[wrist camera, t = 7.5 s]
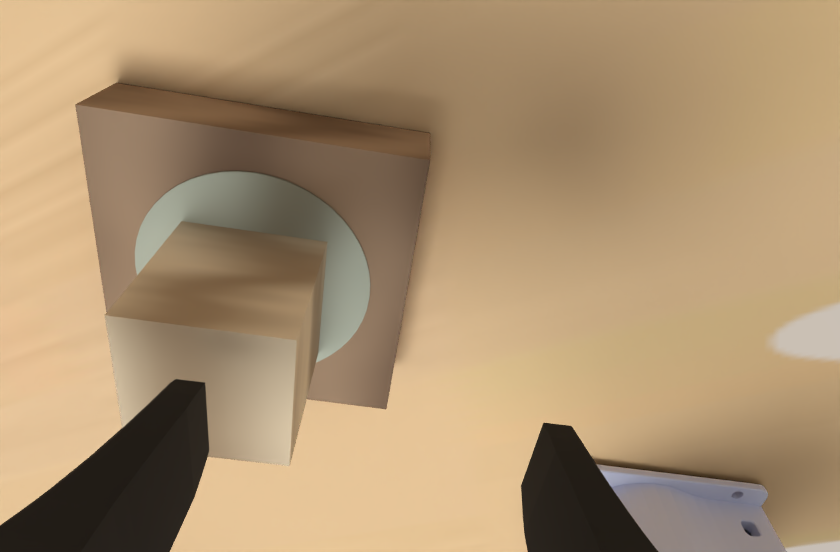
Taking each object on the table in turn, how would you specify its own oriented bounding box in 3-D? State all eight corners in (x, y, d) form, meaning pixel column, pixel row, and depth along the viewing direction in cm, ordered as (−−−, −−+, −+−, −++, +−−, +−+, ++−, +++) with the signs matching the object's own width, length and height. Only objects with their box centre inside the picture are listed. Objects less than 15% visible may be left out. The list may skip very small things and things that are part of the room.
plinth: (429, 133, 19) (430, 161, 17) (389, 366, 24) (386, 411, 22) (116, 82, 18) (73, 105, 16) (144, 333, 24) (114, 376, 21)
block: (327, 241, 18) (296, 340, 14) (318, 352, 21) (289, 466, 16) (182, 221, 18) (104, 315, 14) (189, 336, 20) (125, 447, 16)
